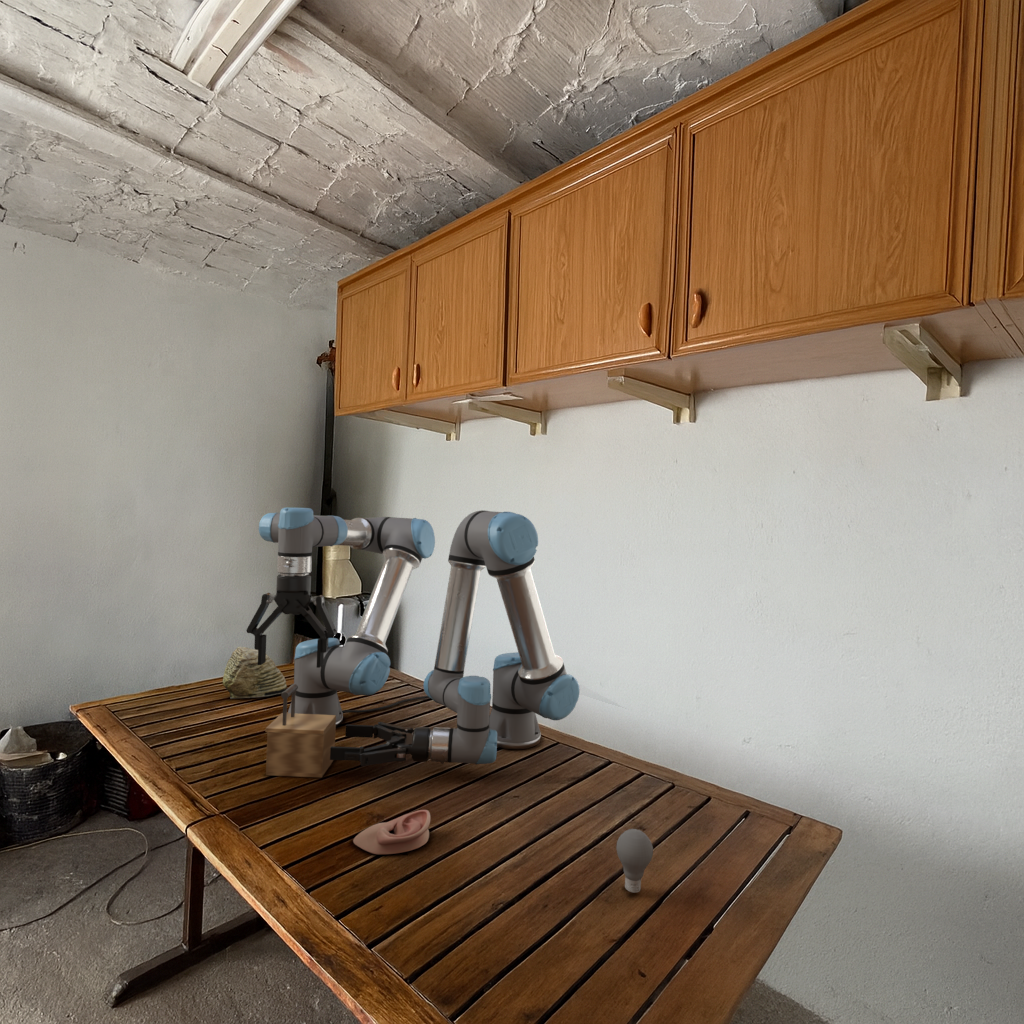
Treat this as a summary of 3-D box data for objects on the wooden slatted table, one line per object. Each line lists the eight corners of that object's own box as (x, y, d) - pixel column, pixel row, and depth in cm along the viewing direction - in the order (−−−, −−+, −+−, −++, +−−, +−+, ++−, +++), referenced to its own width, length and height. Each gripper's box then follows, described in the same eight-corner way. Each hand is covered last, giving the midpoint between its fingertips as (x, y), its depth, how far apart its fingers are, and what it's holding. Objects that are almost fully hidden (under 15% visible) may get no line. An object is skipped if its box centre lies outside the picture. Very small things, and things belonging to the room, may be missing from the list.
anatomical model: (346, 827, 114) (372, 798, 125) (345, 849, 114) (372, 818, 125) (416, 839, 111) (436, 808, 122) (415, 861, 111) (436, 828, 123)
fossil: (218, 695, 195) (220, 647, 195) (278, 685, 208) (279, 640, 207) (228, 703, 189) (230, 653, 188) (289, 692, 201) (290, 645, 201)
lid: (265, 732, 143) (266, 693, 142) (281, 716, 153) (283, 680, 153) (323, 734, 143) (324, 696, 142) (335, 718, 153) (337, 683, 153)
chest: (265, 775, 143) (267, 732, 143) (282, 756, 153) (283, 717, 153) (321, 777, 143) (323, 734, 143) (334, 759, 153) (336, 719, 153)
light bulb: (610, 879, 108) (613, 822, 108) (644, 879, 109) (647, 822, 109) (619, 902, 102) (622, 840, 102) (655, 901, 103) (658, 840, 103)
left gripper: (233, 573, 143) (230, 666, 144) (343, 578, 143) (339, 671, 144) (247, 569, 151) (244, 658, 151) (351, 574, 151) (348, 663, 151)
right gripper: (423, 784, 134) (322, 781, 134) (435, 740, 159) (350, 737, 159) (424, 749, 134) (324, 746, 134) (436, 710, 159) (351, 707, 159)
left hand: (290, 665), depth 147 cm, fingers open, 13 cm apart
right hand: (338, 741), depth 146 cm, fingers open, 13 cm apart
